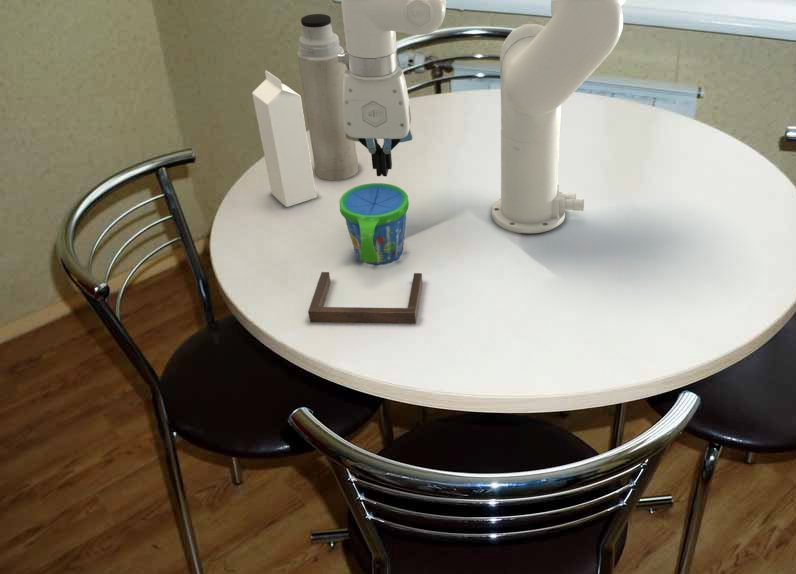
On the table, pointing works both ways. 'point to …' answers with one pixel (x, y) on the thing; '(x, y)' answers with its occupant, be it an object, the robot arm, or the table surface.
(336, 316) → the bay
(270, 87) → the milk
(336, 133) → the thermos bottle
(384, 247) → the snack cup
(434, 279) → the table surface
